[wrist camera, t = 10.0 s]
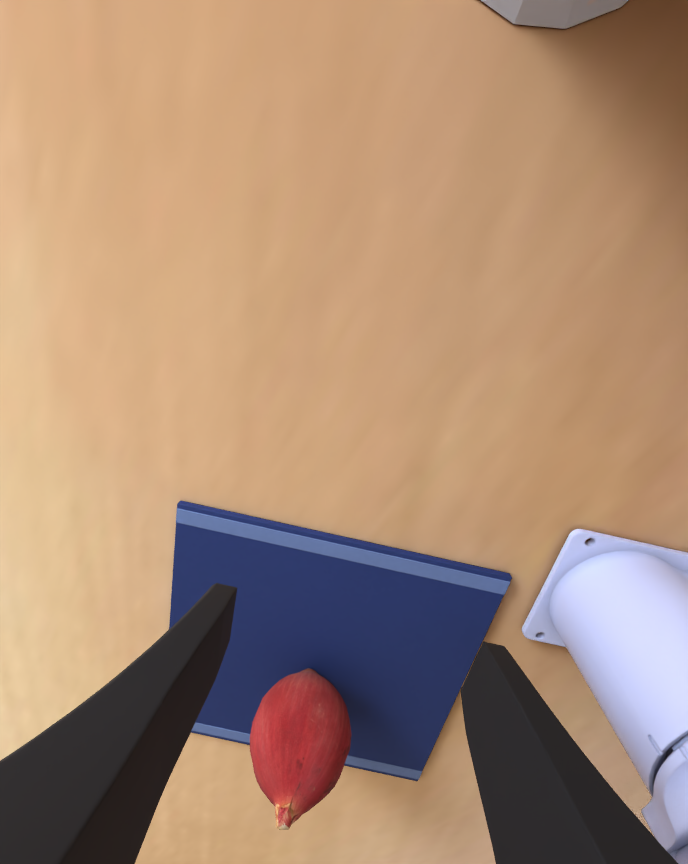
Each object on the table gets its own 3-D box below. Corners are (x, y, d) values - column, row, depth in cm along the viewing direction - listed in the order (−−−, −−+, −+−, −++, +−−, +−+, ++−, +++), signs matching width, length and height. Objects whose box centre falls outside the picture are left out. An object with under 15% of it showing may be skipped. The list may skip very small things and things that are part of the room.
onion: (370, 672, 25) (371, 835, 17) (317, 713, 26) (296, 878, 19) (303, 626, 24) (272, 777, 16) (252, 672, 25) (203, 828, 18)
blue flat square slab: (509, 573, 22) (512, 578, 21) (417, 775, 28) (417, 782, 28) (180, 500, 22) (176, 504, 21) (165, 720, 28) (162, 727, 28)
